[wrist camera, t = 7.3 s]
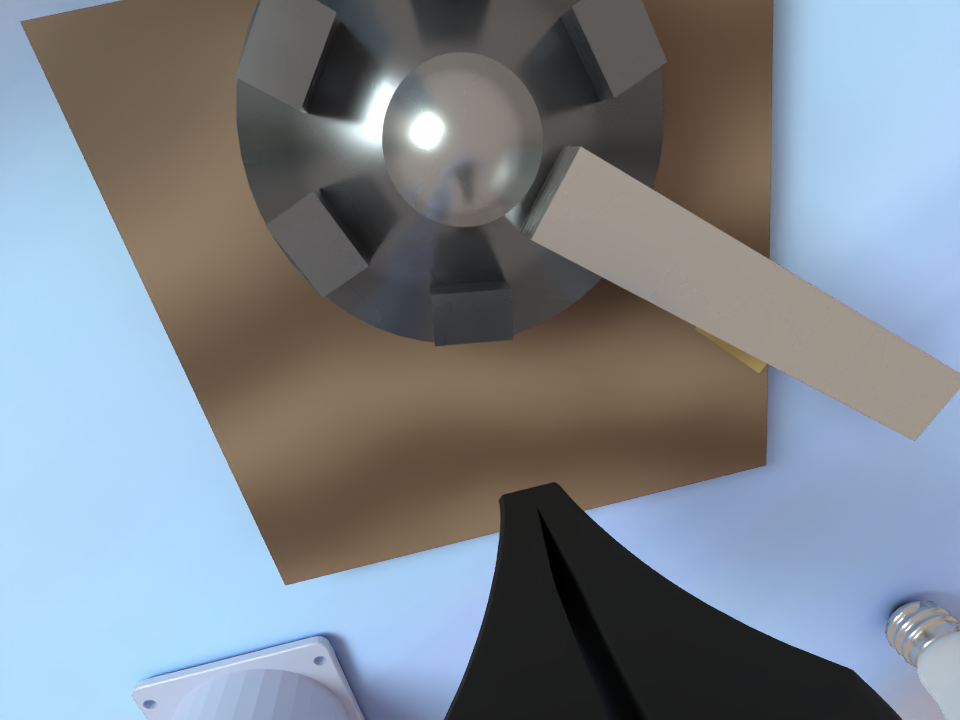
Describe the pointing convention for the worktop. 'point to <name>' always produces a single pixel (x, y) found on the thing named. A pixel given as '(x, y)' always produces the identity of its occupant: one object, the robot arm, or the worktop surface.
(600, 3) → the handled metal disc
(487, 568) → the worktop surface
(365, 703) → the worktop surface
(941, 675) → the light bulb
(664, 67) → the walnut base
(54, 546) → the worktop surface
